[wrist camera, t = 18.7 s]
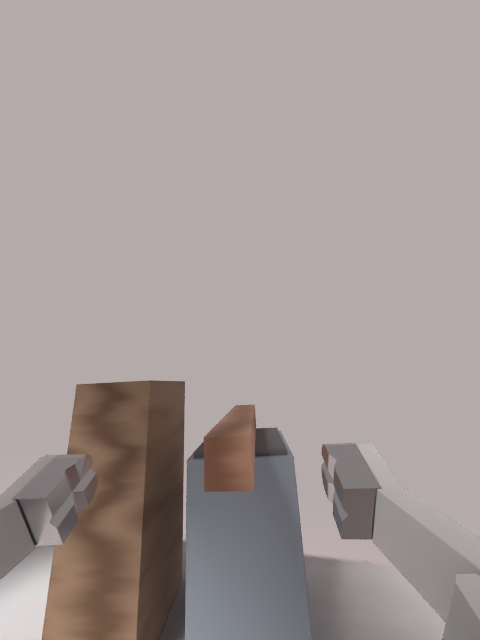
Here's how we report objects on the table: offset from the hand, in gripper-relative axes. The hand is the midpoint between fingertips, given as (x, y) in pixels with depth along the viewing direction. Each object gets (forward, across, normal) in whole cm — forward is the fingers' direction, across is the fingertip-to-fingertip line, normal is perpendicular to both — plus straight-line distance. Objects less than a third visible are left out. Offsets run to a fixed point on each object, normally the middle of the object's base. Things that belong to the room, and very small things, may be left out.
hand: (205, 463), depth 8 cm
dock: (+8, 0, +28) cm, 29 cm away
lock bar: (+14, 0, +12) cm, 18 cm away
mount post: (+8, +13, +28) cm, 32 cm away
